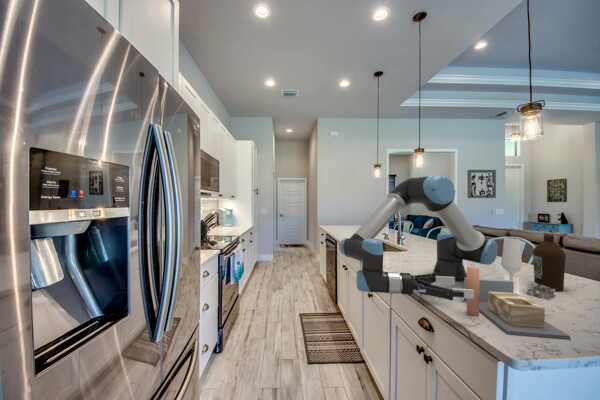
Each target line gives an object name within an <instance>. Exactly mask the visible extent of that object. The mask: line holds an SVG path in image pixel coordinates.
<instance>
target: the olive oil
mask: <svg viewBox="0 0 600 400" xmlns="http://www.w3.org/2000/svg"><path fill="white" fill-rule="evenodd" d="M566 257H567V256H566V253H565V251H564V249H562V247H560V246H559V245H558V244H557V243H555V237H554V233H550V232H548V233H547V232H544V233H543V241H542V242H541V243H540V244H538V245H536V246H535V247H534V249H533V251H532V259H533V260H532V262H533V263H532V264H533V278H534V279H533V280H534V282H533V283H537V284H539V285H543V286H546V287H550V288H551V289H555V292H563V291H564V289H565V270H566V260H567V259H566Z"/></svg>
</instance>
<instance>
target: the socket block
mask: <svg viewBox="0 0 600 400" xmlns="http://www.w3.org/2000/svg"><path fill="white" fill-rule="evenodd" d="M488 308H489V309H490V310H491V311H493V312H494V313H496V314H497V315H498V316H500V317H501V318H503V319H504V320H505V321H507V322H508V323H510V324H511V325H520V326H532V327H545V322H546V320H545V319H546V318H545V316H546V314H545V312H546V311H545V310H546V309H545V307H544V306H542V305H540V304H538V303H536V302H534V301H533V300H530V299H529V298H527V297H525V296H523V295H521V294H519V293H517V292H514V293H505V292H488Z"/></svg>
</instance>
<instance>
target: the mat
mask: <svg viewBox="0 0 600 400" xmlns="http://www.w3.org/2000/svg"><path fill="white" fill-rule="evenodd" d="M463 301H464V302H465V303H467V299H466V298H463ZM479 314H481V315H483V316H484V317H485V318H486V319H487V320H489V321H490V322H491V323H492V324H494V325H495V326H496V327H497V328H499V329H500V330H502V331H503V332H504V333H505V334H507V335H513V336H524V337H525V336H526V337H536V338H547V339H559V340H571V336H570V335H569V334H568V333H566V332H564V331H562V330H561V329H559V328H557V327H556V326H554V325H552V324H550V323H549V322H547V321H545V327H532V326H520V325H511V324H510V323H508V322H507V321H505V320H504V319H503V318H501V317H500V316H498V315H497V314H496V313H494V312H493V311H491V310H490V309H489V308H488V301H479Z"/></svg>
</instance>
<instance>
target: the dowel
mask: <svg viewBox="0 0 600 400" xmlns="http://www.w3.org/2000/svg"><path fill="white" fill-rule="evenodd" d="M466 274H467V289H472V290H474V299H471V298H467V302H466V314H468V315H469V316H474V317H479V316H480V312H479V278H480V268H479V267H475V266H467V267H466Z"/></svg>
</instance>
